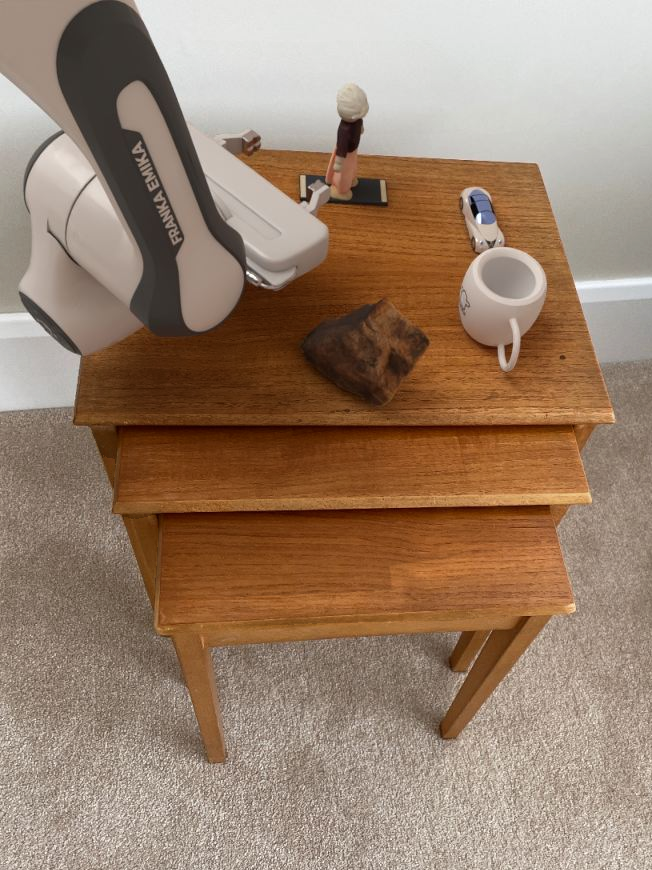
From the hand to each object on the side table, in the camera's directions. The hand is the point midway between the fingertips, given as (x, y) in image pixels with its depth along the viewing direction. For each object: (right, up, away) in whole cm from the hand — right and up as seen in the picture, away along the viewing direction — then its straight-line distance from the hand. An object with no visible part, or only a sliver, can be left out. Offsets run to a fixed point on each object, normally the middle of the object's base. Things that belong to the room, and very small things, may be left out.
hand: (290, 162), depth 78 cm
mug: (+21, -16, +5) cm, 27 cm away
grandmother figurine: (+5, +2, +11) cm, 12 cm away
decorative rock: (+7, -21, +1) cm, 22 cm away
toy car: (+21, -3, +12) cm, 24 cm away
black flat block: (+5, +2, +12) cm, 13 cm away
